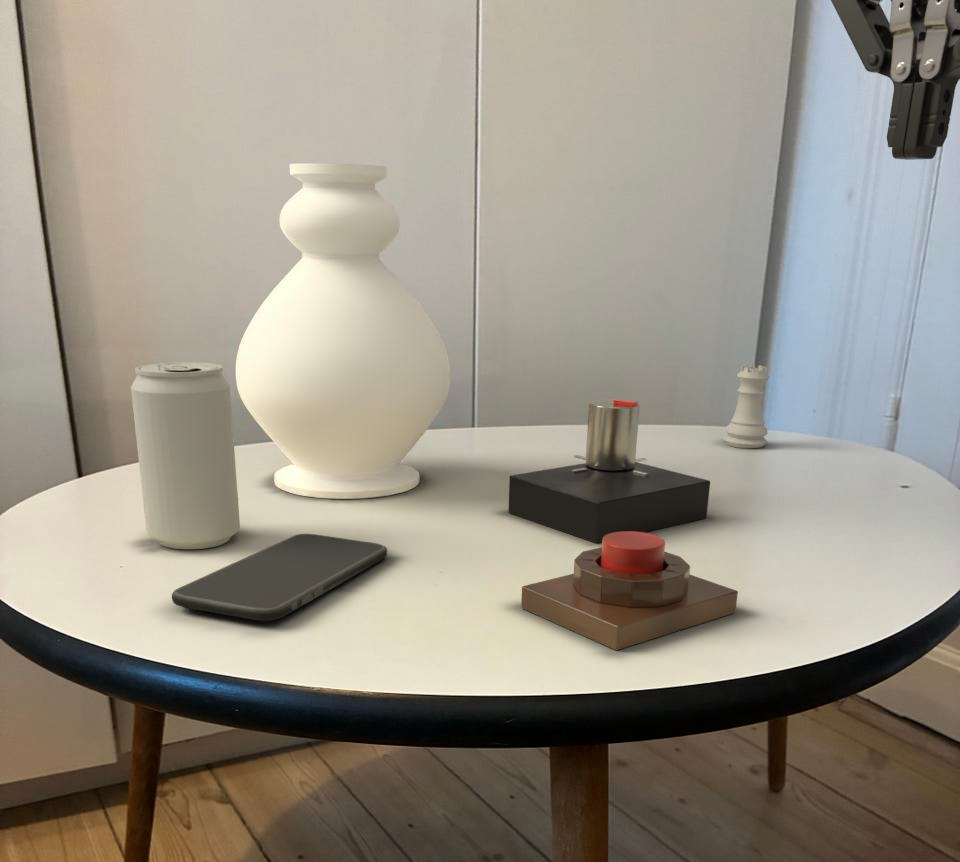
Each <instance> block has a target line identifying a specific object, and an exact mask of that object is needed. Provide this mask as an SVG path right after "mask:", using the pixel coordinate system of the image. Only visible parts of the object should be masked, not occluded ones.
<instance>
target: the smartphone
mask: <svg viewBox="0 0 960 862" xmlns="http://www.w3.org/2000/svg"><path fill="white" fill-rule="evenodd" d="M387 554H388V549H387V547H386V545H383V544H382V543H378V542H377V543H376V542H370V541H364V540H357V539H349V538H342V537H336V536H328V535H321V534H314V533H299V534H295V535H292V536H290V537H288V538H286V539H283V540H281V541H278V542H276V543H275V544H272V545H270V546H268V547H266V548H264V549H261V550H259V551H257V552H254V553H252V554H251V555H248V556H246V557H243V558H241V559H239V560H238V561H235V562H233V563H230V564H229V565H226V566H224V567H222V568H220V569H217V570H215V571H213V572H210V573H209V574H207V575H204V576H202V577H200V578H197V579H196V580H194V581H191V582H189V583H187V584H185V585H182V586H180V587H178V588H176V589H174V590H173V592H172V593H171V600H172V602H173V604H174V605H176V606H178V607H181V608H183V609H187V610H198V611H201V612H209V613H214V614H220V615H225V616H230V617H236V618H242V619H247V620H252V621H253V620H254V621H261V622H263V621H264V622H266V621H267V622H269V621H275V620H279V619H282V618H283V617H285V616H287V615H288V614H290V613H293V612H294V611H295V610H297V609H300V607H302V606H304V605H306V604H308V603H309V602H311V601H313V600H314V599H316V598H318V597H320V596H321V595H323V594H325V593H327V592H329V591H330V590H332V589H334V588H335V587H337V586H339V585H341V584H343V583H344V582H346V581H348V580H349V579H351V578H353V577H355V576H357V575H358V574H360V573H362V572H363V571H365V570H367V569H369V568H370V567H372V566H374V565H376V564H377V563H379V562H380V561H382V560H384V559H386V557H387Z"/></svg>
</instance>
